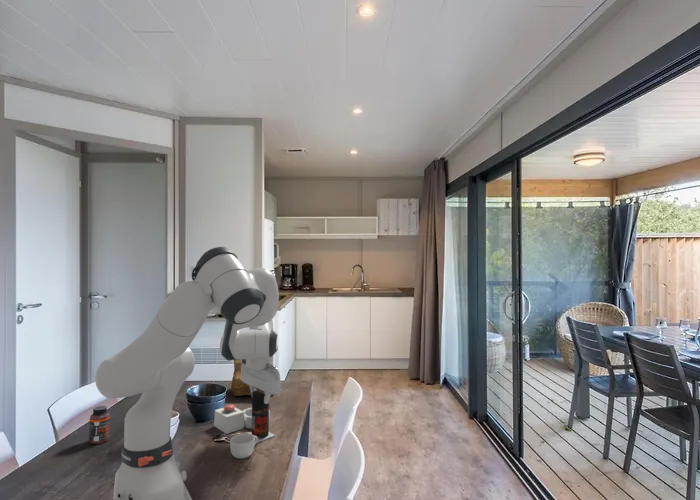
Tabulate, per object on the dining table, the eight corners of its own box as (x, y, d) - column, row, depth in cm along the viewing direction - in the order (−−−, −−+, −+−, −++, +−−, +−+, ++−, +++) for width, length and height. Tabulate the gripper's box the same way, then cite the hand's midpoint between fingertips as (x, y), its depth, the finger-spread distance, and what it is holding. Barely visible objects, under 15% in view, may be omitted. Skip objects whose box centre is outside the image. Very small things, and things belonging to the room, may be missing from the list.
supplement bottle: (99, 445, 139) (100, 411, 139) (84, 443, 140) (85, 410, 140) (113, 438, 144) (114, 405, 144) (98, 436, 146) (99, 403, 146)
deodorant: (247, 436, 146) (248, 393, 146) (258, 430, 151) (258, 388, 152) (262, 439, 144) (262, 396, 144) (271, 433, 149) (272, 391, 149)
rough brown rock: (215, 396, 190) (215, 364, 189) (242, 383, 204) (241, 353, 203) (254, 407, 179) (254, 373, 177) (279, 393, 193) (279, 361, 192)
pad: (275, 436, 148) (275, 435, 148) (255, 443, 142) (255, 442, 142) (262, 429, 153) (262, 428, 153) (243, 435, 148) (243, 434, 148)
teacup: (239, 464, 128) (240, 446, 128) (224, 456, 133) (225, 439, 133) (264, 452, 136) (265, 435, 136) (249, 445, 141) (250, 429, 141)
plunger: (236, 421, 155) (236, 406, 155) (226, 425, 152) (227, 409, 152) (231, 418, 157) (231, 403, 158) (221, 421, 155) (221, 406, 155)
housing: (274, 422, 159) (274, 407, 159) (231, 437, 146) (231, 420, 146) (256, 413, 168) (256, 398, 168) (214, 426, 155) (214, 410, 155)
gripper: (285, 365, 143) (285, 406, 143) (253, 354, 157) (252, 391, 157) (270, 369, 138) (269, 410, 138) (238, 357, 153) (237, 395, 153)
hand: (260, 400), depth 148 cm, fingers closed on deodorant, 6 cm apart
